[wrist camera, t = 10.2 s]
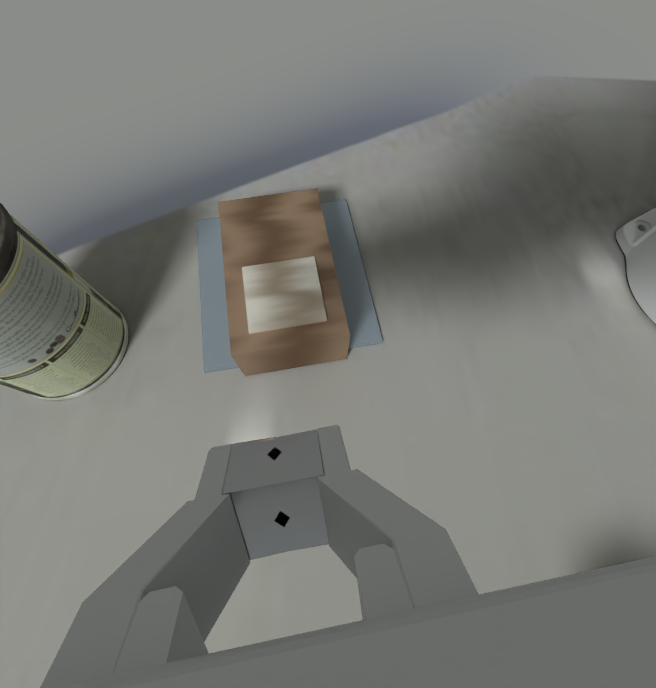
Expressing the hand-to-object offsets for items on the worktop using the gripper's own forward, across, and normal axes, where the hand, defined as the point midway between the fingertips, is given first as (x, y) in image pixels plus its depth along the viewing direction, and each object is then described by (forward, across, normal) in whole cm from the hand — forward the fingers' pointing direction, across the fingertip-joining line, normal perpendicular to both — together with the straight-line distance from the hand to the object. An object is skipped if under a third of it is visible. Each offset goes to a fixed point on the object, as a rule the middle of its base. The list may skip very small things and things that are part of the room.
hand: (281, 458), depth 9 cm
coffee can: (+26, +20, +4) cm, 33 cm away
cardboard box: (+20, 0, +6) cm, 21 cm away
